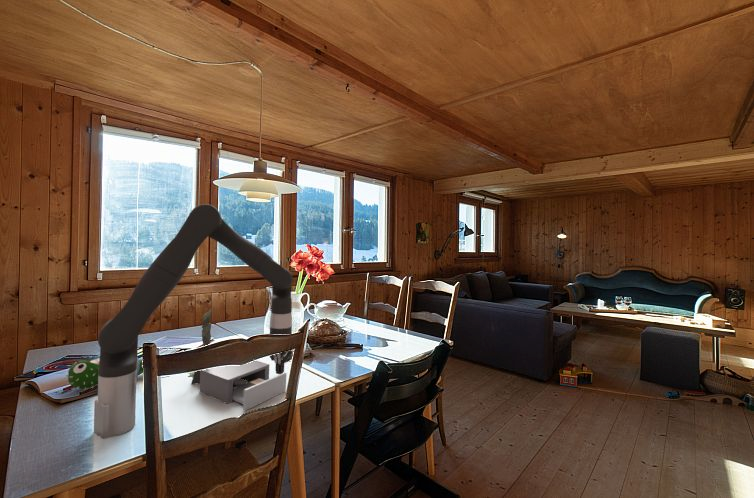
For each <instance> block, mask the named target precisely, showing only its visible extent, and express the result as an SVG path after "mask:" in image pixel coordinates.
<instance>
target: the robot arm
mask: <svg viewBox="0 0 754 498" xmlns="http://www.w3.org/2000/svg"><path fill="white" fill-rule="evenodd" d="M208 237H209V238H211V240H214V241H216V242H217V243H219V244H220V245H222V246H223V247H225V248H226V249H227V250H229V251H230V252H231V253H232V254H234V255H235V256H236V257H237V258H238V259H239V260H240V261H242V262H243V263H245V264H246V265H247V266H248V267H250V269H252V270H253V271H254V272H256V273H258V274H259V275H260V276H262V277H263V278H264V279H265V280H266V281H267V282H268V283H269V284H270V285H271V288H272V289H271V291H272V292H271V293H272V295H271V296H272V297H271V304H270V305H271V306H270V315H269V316H270V317H269V335H270V334H292V335H293V332H292V331H293V315H292V314H293V313H292V309H293V303H292V302H293V299H292V286H293V282H294V278H293V274H292V272H291V271H290V270H289V269H287V268H286V267H284V266H282V265H281V264H280V263H277V261H275V260H274V259H273V257H272V256H271V255H269V254H268V253H266V251H264V250H263V249H262V248H260V247H259V246H258V245H256V244H255V243H254V242H252V241H250V240H249V239H247V238H245V237H244V236H242V235H241V234H239V233H238V232H237V231H235V230H234V229H233V228H232V227H231V226H230V225H229V224H228V223H227V222H226V221H225V220H224V219H223V218H222V216H221V213H220V211H219V210H218V208H216V207H215V206H214V205H212V204H210V203H209V204H207V203H203V204H202V203H201V204H199V205H197V206H195V207H194V208H193V209H191V211H190V212H189V214H188V216H187V218H186V219H185V221H184V222H183V224H182V226H181V227H180V229H179V230H178V232H177V234H176V235H175V236H174V238H172V240H171V241H170V242H169V243H168V244H166V246H165V247H164V249H163V250H162V251H161V252H160V253H159V254H158V256H156V258H155V259H154V261H153V262H152V263H151V264H150V265H149V266H148V268H147V269H146V271H145V272H144V274H143V275H142V276H141V278H140V279H139V280H138V282H137V285H136V286H135V288H134V289H133V291H132V294H131V295H130V297H129V298H128V300H127V301H126V303H125V304H124V305H123V306H122V308H121V309H120V310H119V311H118V313H116V315H115V316H114V317H112V318H111V319H109V320H107V321H106V322H105V323H104V324H103V326H102V327H101V329H100V330H99V333H98V336H97V343H98V345H99V359H100V360H99V367H98V384H97V399H95V400H94V405H93V408H94V409H93V433H94V434H96V435H97V436H99V437H101V438H102V439H106V438H109V437H115V436H119V435H122V434H124V433H127V432H129V431H131V430H132V429H133V428H134V427H135V425H136V405H137V404H136V402H137V400H136V399H137V378H136V373H137V357H138V350H139V349H138V347H139V335H140V333H141V332H142V330H143V328H144V327H145V325H146V323H147V321H148V320H149V318H150V317H151V316H152V315H153V313H154V312H155V311H156V310H157V309H158V307H159V306H161V304H162V303H163V302H164V301H165V300H166V299H167V297H168V296H169V295H170V294H171V292H173V290H174V289H175V287H176V286H177V285H178V284H179V282H180V281H181V280H182V278H183V276H184V275H185V273H186V272H187V270H188V268H189V267H190V264H191V263H192V260H193V258H194V257H195V254H196V252H197V250H198V249H199V248H200V247H201V245H202V244H203V243H204V241H205V240H206V239H207V238H208ZM293 350H294V349H293ZM293 350H290V351H286V352H282V353H279V354H275V355H272V356H269V358H270V360H271V362H272V361H274V363H275V374H277V375H280V374H282V373H284V372H285V364H286V363H288V362H290V360H291V359H292V358H293V356H294V355H293V352H294V351H293Z"/></svg>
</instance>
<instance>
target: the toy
mask: <svg viewBox="0 0 754 498" xmlns="http://www.w3.org/2000/svg"><path fill="white" fill-rule="evenodd" d="M99 360H100V358H96V359H93V360H91V359H90V360H89V359H82V360H79V361H75V362H74V364H73V365H72V366H71V367H68V372H67V375H65V378H66V377H67V379H68V381H67V383H66V384H67V386H68V385H70V386H71V387H73V390H76V389H77V390H79V389H80V390H83V391H84V390H85V391H87V390H88V389H91V387H92V388H95V386H98V367H99ZM142 360H143V359H142V358H141V359H140V358H139V357H138V356H137V373H136V379H137V378H138V376H140V375H142V374H144V373H143V368H142ZM87 388H88V389H87Z"/></svg>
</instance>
